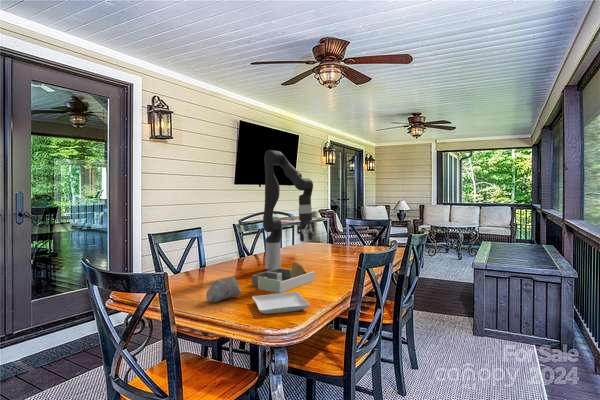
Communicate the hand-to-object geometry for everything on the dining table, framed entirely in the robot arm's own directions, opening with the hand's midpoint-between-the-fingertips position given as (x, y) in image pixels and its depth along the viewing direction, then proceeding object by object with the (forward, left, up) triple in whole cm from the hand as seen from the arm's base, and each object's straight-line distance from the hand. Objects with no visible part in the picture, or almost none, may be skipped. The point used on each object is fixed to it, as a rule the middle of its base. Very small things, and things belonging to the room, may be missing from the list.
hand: (306, 240), depth 221 cm
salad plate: (+25, -55, -21) cm, 64 cm away
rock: (+4, -12, -21) cm, 25 cm away
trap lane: (-1, -23, -21) cm, 31 cm away
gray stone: (-3, -61, -21) cm, 65 cm away
